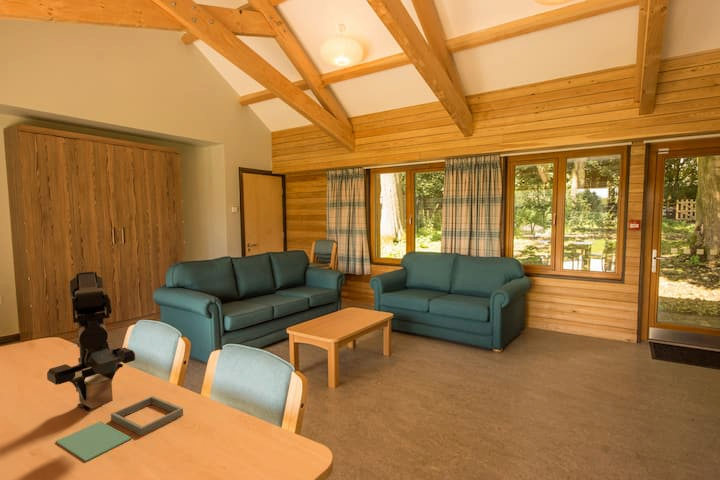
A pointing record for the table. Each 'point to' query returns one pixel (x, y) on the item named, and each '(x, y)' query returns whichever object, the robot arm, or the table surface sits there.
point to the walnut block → (97, 391)
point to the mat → (93, 441)
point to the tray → (140, 430)
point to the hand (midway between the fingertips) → (95, 395)
